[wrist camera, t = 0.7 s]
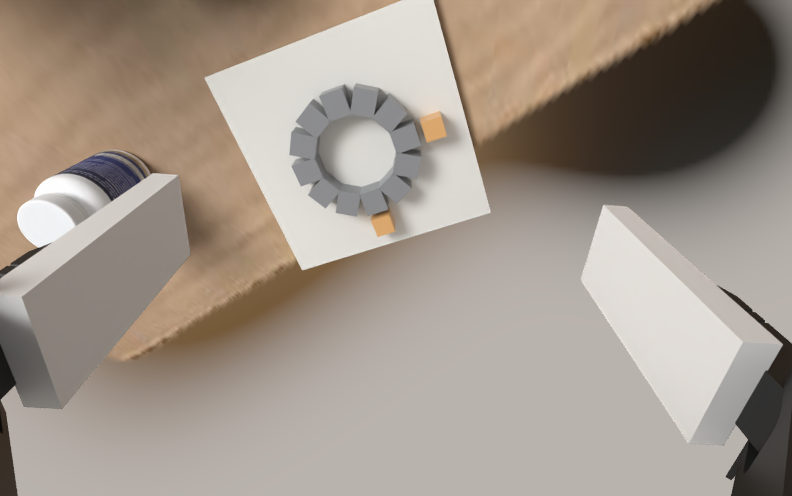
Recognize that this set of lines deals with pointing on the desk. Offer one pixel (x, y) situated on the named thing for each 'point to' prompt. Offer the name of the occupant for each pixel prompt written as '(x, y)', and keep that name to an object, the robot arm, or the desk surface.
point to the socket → (356, 133)
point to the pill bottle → (78, 194)
